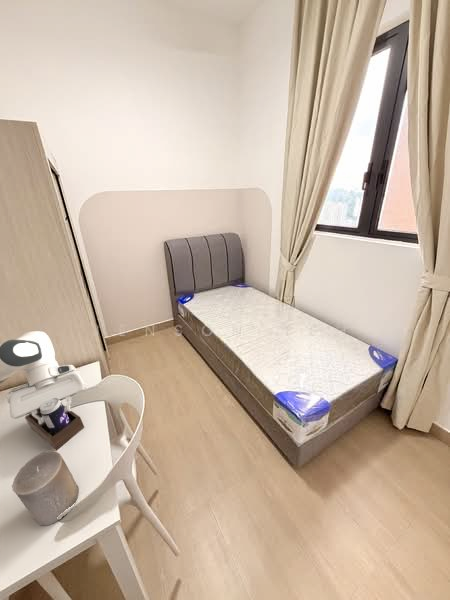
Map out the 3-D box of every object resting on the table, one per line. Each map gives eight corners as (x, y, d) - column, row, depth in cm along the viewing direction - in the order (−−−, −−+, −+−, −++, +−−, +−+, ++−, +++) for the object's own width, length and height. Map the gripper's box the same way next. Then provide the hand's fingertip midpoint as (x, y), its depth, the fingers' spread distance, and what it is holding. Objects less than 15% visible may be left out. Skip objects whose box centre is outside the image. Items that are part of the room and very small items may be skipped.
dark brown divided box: (30, 427, 83) (24, 417, 81) (57, 408, 90) (53, 398, 88) (56, 450, 74) (51, 439, 72) (84, 427, 82) (80, 416, 79)
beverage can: (68, 435, 78) (55, 409, 73) (49, 439, 77) (34, 413, 72) (74, 420, 83) (62, 395, 78) (56, 424, 82) (43, 399, 77)
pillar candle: (69, 474, 68) (50, 439, 61) (86, 496, 62) (67, 461, 56) (29, 509, 60) (3, 473, 54) (44, 537, 55) (17, 501, 49)
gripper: (1, 390, 72) (11, 436, 69) (77, 363, 82) (89, 401, 79) (9, 392, 77) (18, 435, 74) (79, 366, 87) (91, 402, 84)
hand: (55, 417), depth 76 cm, fingers closed on beverage can, 5 cm apart
